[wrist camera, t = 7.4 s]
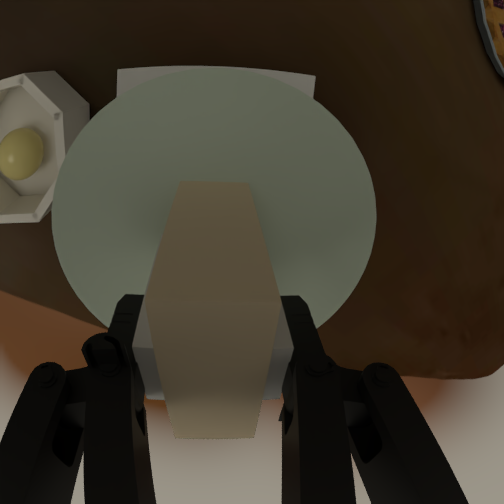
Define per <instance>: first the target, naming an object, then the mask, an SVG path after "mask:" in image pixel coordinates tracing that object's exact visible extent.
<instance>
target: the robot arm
mask: <svg viewBox="0 0 504 504" xmlns="http://www.w3.org/2000/svg"><path fill="white" fill-rule="evenodd" d="M162 236H163V234H162V235H161V238H160V241H159V245H158V248H157V251H156V255H155V258H154V262H153V265H152V269H151V272H150V276H149V280H148V283H147V287H146V291H145V295H139V294H125V295H124V296H123V297H122V298H121V299H120V300H119V301H118V302H117V305H116V308H115V311H114V314H113V317H112V320H111V323H110V326H109V329H108V332H107V333H99V334H96V335H94V336H92V337H90V338H89V339H88V340H87V341H86V342H85V343H84V344H83V347H82V349H81V350H82V353H83V355H84V357H85V360H86V362H87V364H88V366H87V367H84V368H80V369H74V370H69V371H65V370H64V369H63V368H62V366H61V365H59V364H57V363H55V362H46V363H42V364H40V365H39V366H37V367H36V368H35V369H34V370H33V371H32V373H31V374H30V376H29V378H28V381H27V382H26V384H25V386H24V389H23V391H22V393H21V395H20V397H19V399H18V402H17V404H16V406H15V408H14V410H13V413H12V415H11V417H10V420H9V422H8V425H7V427H6V430H5V432H4V435H3V437H2V440H1V442H0V504H71V499H72V495H73V490H74V486H75V482H76V478H77V474H78V470H79V466H80V462H81V459H82V455H83V451H84V497H85V504H156V499H155V492H154V485H153V478H152V470H151V462H150V453H149V444H148V433H147V421H146V410H145V407H144V404H143V402H144V394H146V397H147V399H157V400H165V398H164V394H163V390H162V386H161V381H160V377H159V373H158V368H157V363H156V359H155V354H154V349H153V344H152V339H151V334H150V328H149V323H148V317H147V311H146V305H145V297H146V293H147V289H148V285H149V282H150V278H151V274H152V271H153V267H154V263H155V260H156V256H157V253H158V249H159V246H160V242H161V239H162ZM280 298H281V301H282V303H281V308H280V313H279V319H278V324H277V329H276V335H275V340H274V345H273V350H272V355H271V360H270V365H269V370H268V375H267V380H266V385H265V389H264V394H263V399H262V400H269V399H280V396H281V393H283V398H284V404H283V408H282V410H281V414H280V417H279V421H282V504H356V496H355V486H354V478H353V468H352V461H351V454H352V456H353V459H354V461H355V464H356V466H357V469H358V471H359V474H360V476H361V478H362V481H363V483H364V486H365V488H366V491H367V494H368V496H369V498H370V501H371V504H469V503H468V501H467V499H466V497H465V495H464V493H463V491H462V489H461V487H460V485H459V483H458V481H457V479H456V477H455V475H454V473H453V471H452V469H451V467H450V465H449V463H448V461H447V460H446V457H445V455H444V454H443V452H442V450H441V448H440V446H439V444H438V442H437V440H436V439H435V437H434V435H433V433H432V431H431V430H430V428H429V426H428V424H427V422H426V420H425V419H424V417H423V415H422V413H421V412H420V410H419V408H418V406H417V405H416V403H415V401H414V399H413V398H412V396H411V394H410V393H409V391H408V389H407V387H406V386H405V384H404V382H403V381H402V379H401V377H400V375H399V374H398V373H397V371H396V370H395V369H394V368H392V367H391V366H389V365H388V364H384V363H372V364H370V365H368V366H367V367H366V368H365V369H364V370H363V371H359V370H352V369H346V368H343V367H340V366H338V365H336V363H335V362H334V361H333V360H332V359H331V358H330V357H329V356H327V355H326V354H325V352H324V349H323V346H322V343H321V341H320V338H319V335H318V332H317V329H316V326H315V324H314V321H313V318H312V316H311V313H310V310H309V307H308V304H307V303H306V302H305V301H304V300H303V299H302V298H301V297H300V296H299V295H288V296H280Z"/></svg>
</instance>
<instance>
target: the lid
mask: <svg viewBox="0 0 504 504" xmlns="http://www.w3.org/2000/svg"><path fill="white" fill-rule="evenodd" d="M375 228H376V202H375V194H374V189H373V184H372V180H371V176H370V173H369V171H368V168H367V165H366V163H365V160H364V158H363V156H362V154H361V152H360V151H359V149H358V147H357V145H356V144H355V142H354V140H353V138H352V137H351V136H350V134H349V133H348V132H347V131H346V129H345V128H344V127H343V126H342V124H341V123H340V122H339V121H338V120H337V119H336V118H335V117H334V116H333V115H332V114H331V113H330V112H329V111H328V110H327V109H325V108H324V107H323V106H322V105H321V104H320V103H318V102H317V101H315V100H314V99H312V98H311V97H309V96H308V95H306V94H305V93H303V92H302V91H300V90H299V89H297V88H295V87H292V86H290V85H288V84H286V83H284V82H282V81H279V80H277V79H275V78H272V77H268V76H265V75H261V74H257V73H254V72H250V71H244V70H236V69H228V68H200V69H190V70H184V71H179V72H174V73H170V74H165V75H163V76H160V77H157V78H154V79H151V80H149V81H146V82H144V83H141V84H139V85H137V86H135V87H134V88H132V89H130V90H128V91H126V92H125V93H123V94H121V95H119V96H118V97H117V98H115V99H114V100H113V101H111V102H110V103H109V104H108V105H106V106H105V107H104V108H102V109H101V110H100V111H99V112H98V113H97V114H96V115H95V116H94V117H93V118H92V119H91V120H90V121H89V122H88V123H87V125H86V126H85V127H84V128H83V129H82V130H81V132H80V133H79V135H78V136H77V138H76V139H75V141H74V142H73V144H72V145H71V147H70V148H69V150H68V152H67V154H66V157H65V159H64V161H63V163H62V165H61V168H60V170H59V174H58V177H57V181H56V184H55V188H54V194H53V202H52V232H53V238H54V244H55V249H56V252H57V255H58V258H59V261H60V265H61V267H62V269H63V271H64V273H65V276H66V278H67V280H68V282H69V283H70V285H71V287H72V288H73V290H74V291H75V293H76V294H77V296H78V297H79V299H80V300H81V301H82V302H83V304H84V305H85V306H86V307H87V308H88V310H89V311H90V312H91V313H92V314H93V315H94V316H96V317H97V318H98V319H99V320H100V321H101V322H102V323H103V324H104V325H106V326H107V327H108V328H109V326H110V323H111V320H112V317H113V314H114V311H115V308H116V305H117V302H118V301H119V300H120V299H121V298H122V297H123V296H124V295H125V294H139V295H145V291H146V287H147V283H148V280H149V276H150V272H151V269H152V265H153V262H154V258H155V255H156V251H157V248H158V245H159V241H160V238H161V235H162V234H163V236H162V239H161V242H160V246H159V249H158V253H157V256H156V260H155V263H154V267H153V271H152V274H151V278H150V282H149V285H148V289H147V293H146V297H145V305H146V311H147V317H148V323H149V328H150V334H151V339H152V344H153V349H154V354H155V359H156V363H157V368H158V373H159V377H160V381H161V386H162V390H163V394H164V398H165V402H166V406H167V410H168V414H169V418H170V421H171V425H172V428H173V432H174V436H175V438H185V439H235V438H236V439H238V438H254V435H255V431H256V426H257V422H258V417H259V413H260V408H261V403H262V399H263V394H264V389H265V385H266V380H267V375H268V370H269V365H270V360H271V355H272V350H273V345H274V340H275V335H276V329H277V324H278V319H279V313H280V308H281V303H282V301H281V298H280V296H288V295H299V296H300V297H301V298H302V299H303V300H304V301H305V302H306V303H307V304H308V307H309V310H310V313H311V316H312V318H313V321H314V324H315V326H316V328H318V327H319V326H321V325H322V324H323V323H324V322H325V321H326V320H328V319H329V318H330V317H331V316H332V315H333V314H334V313H335V312H336V311H337V310H338V309H339V308H340V307H341V305H342V304H343V303H344V302H345V301H346V300H347V298H348V297H349V295H350V294H351V293H352V291H353V290H354V288H355V287H356V285H357V283H358V281H359V280H360V278H361V276H362V274H363V272H364V270H365V267H366V265H367V262H368V259H369V257H370V254H371V250H372V246H373V241H374V237H375Z"/></svg>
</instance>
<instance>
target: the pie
mask: <svg viewBox="0 0 504 504" xmlns="http://www.w3.org/2000/svg"><path fill="white" fill-rule="evenodd" d="M473 2H474V8H475V14H476V21H477V25H478V28H479V31H480V33H481V36H482V39H483V42H484V46H485V49H486V52H487V54H488V55H489V57H490V59H491V61H492V63H493V65H494V67H495V69H496V71H497V73H498V74H500V75H501V76H502V77H503V78H504V0H473ZM487 24H488V25H487Z"/></svg>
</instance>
